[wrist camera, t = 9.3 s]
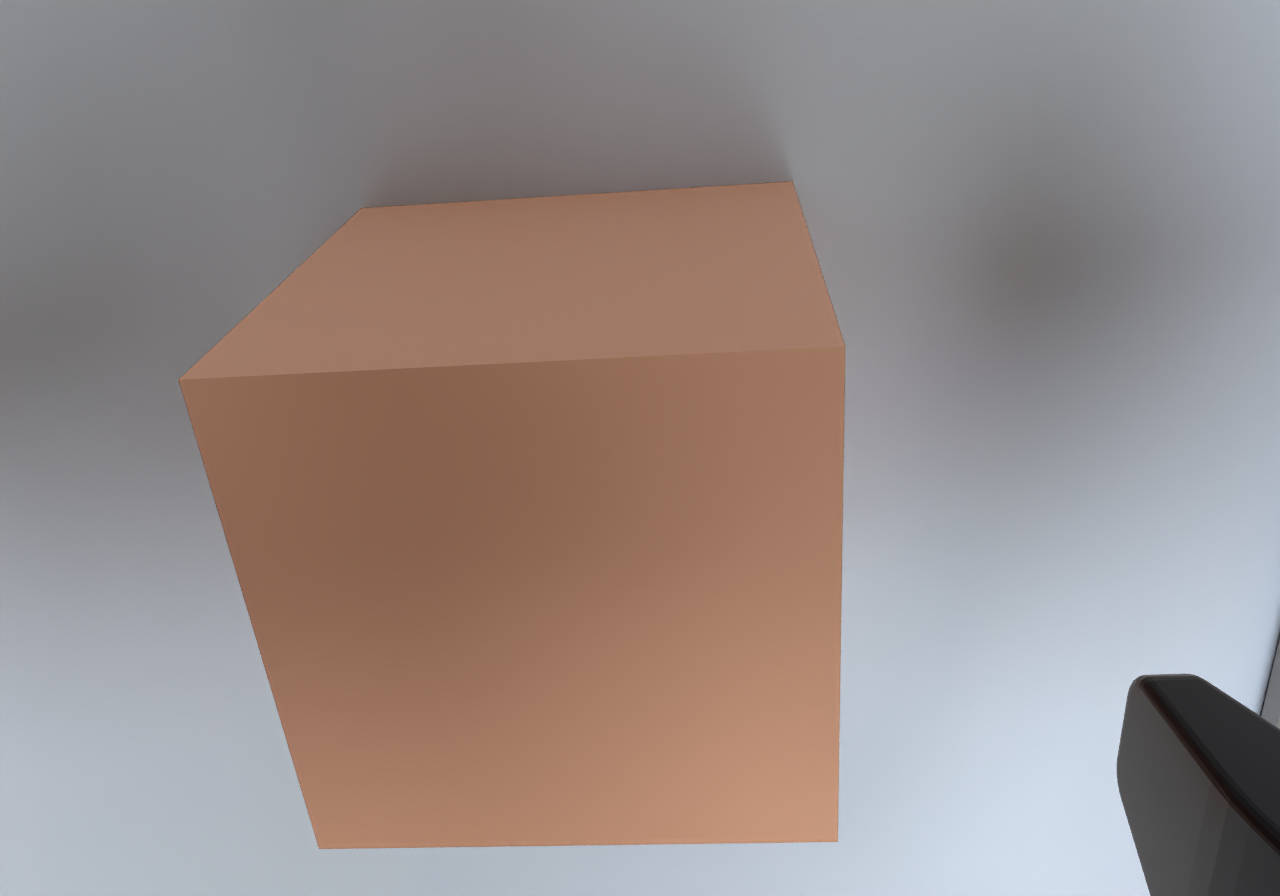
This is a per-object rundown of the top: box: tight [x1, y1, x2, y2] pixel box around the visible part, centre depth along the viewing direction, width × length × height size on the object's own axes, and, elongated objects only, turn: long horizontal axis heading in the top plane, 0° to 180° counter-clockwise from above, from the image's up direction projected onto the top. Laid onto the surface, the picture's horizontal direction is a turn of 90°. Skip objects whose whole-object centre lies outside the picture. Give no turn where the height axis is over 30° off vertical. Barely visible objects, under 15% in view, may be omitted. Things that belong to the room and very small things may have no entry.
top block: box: [179, 181, 845, 849], centre depth 11 cm, size 5×5×5 cm
